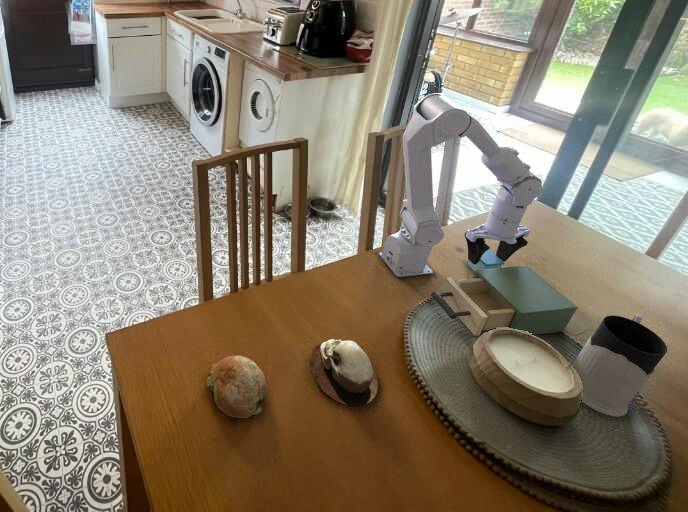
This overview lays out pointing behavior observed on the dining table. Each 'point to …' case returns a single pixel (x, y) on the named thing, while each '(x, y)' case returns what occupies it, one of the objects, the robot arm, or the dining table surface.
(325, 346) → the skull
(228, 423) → the dining table surface
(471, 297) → the drawer
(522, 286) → the cabinet
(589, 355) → the black and white mug
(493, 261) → the light blue block
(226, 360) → the bread roll
